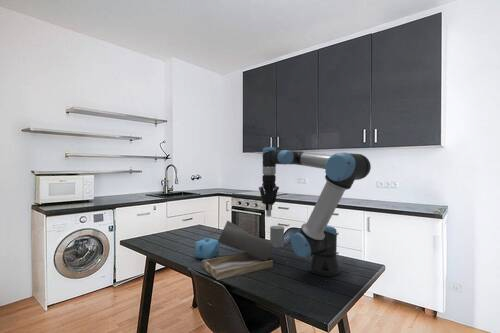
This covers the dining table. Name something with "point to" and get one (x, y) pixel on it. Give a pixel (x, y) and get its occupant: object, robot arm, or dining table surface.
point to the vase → (245, 241)
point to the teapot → (206, 248)
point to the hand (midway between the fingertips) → (268, 216)
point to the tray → (234, 265)
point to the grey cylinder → (277, 236)
